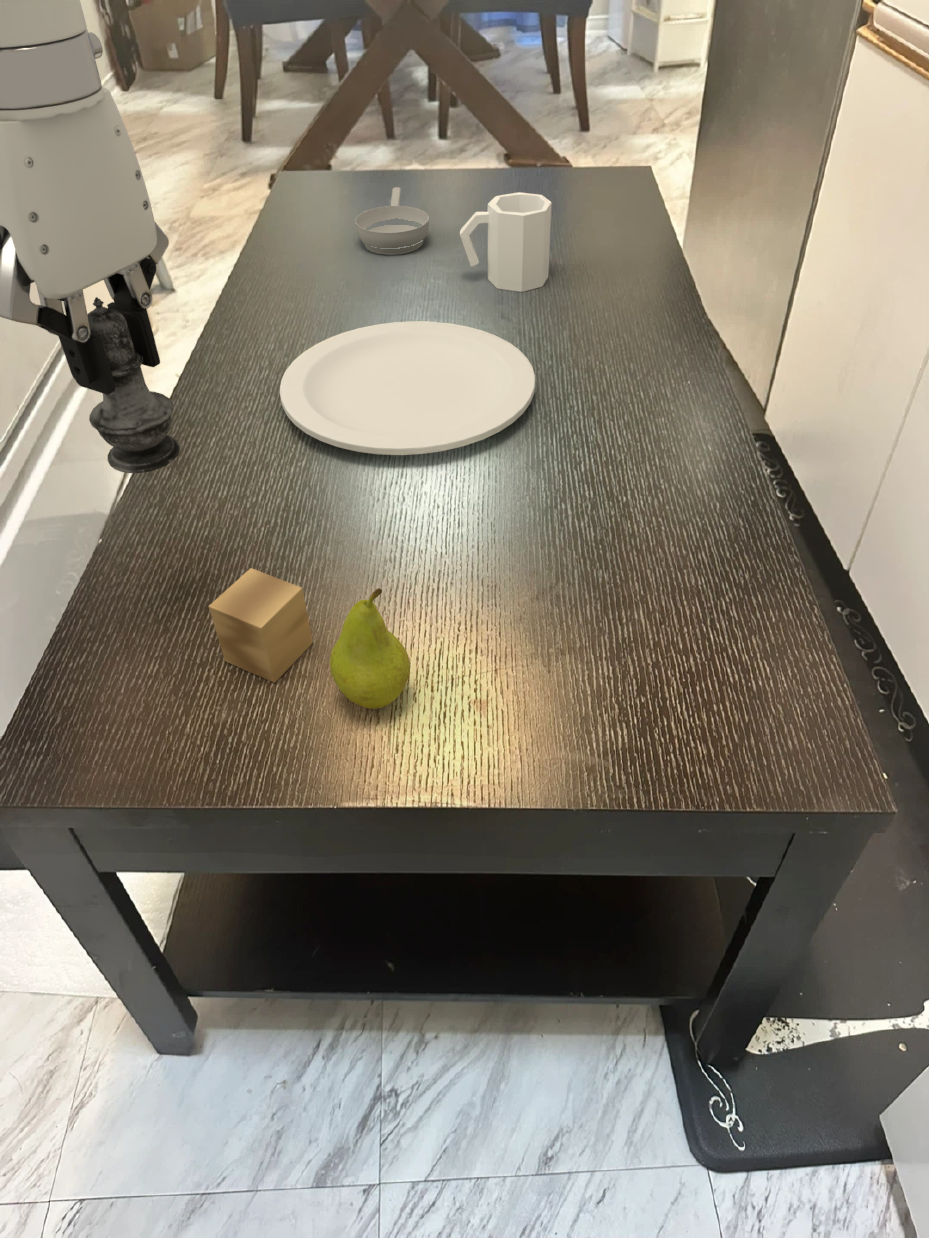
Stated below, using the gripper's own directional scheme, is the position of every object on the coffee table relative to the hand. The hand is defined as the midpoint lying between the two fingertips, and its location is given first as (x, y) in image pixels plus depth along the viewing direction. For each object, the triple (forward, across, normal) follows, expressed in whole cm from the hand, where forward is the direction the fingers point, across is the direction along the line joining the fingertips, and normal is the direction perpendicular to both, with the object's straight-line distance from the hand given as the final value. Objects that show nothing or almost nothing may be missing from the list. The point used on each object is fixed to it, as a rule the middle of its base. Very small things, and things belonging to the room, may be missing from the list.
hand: (119, 372), depth 62 cm
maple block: (+21, +2, +11) cm, 23 cm away
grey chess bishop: (+7, 0, 0) cm, 7 cm away
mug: (+20, -70, -5) cm, 73 cm away
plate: (+20, -37, 0) cm, 42 cm away
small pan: (+20, -77, -27) cm, 84 cm away
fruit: (+21, +2, +21) cm, 29 cm away
